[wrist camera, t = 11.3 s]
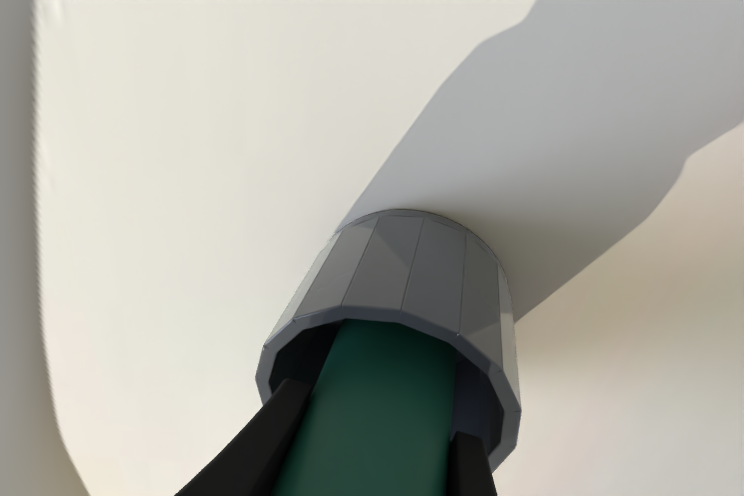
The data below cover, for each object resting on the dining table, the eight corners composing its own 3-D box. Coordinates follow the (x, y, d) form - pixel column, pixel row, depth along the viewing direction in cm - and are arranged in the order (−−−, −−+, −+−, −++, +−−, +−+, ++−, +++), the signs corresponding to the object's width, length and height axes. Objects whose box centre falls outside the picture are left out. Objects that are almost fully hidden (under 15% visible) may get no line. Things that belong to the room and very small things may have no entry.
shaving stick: (482, 356, 13) (482, 779, 6) (399, 405, 14) (326, 769, 8) (391, 277, 12) (271, 659, 5) (316, 339, 14) (155, 680, 7)
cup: (553, 306, 14) (582, 438, 10) (412, 391, 18) (390, 515, 14) (403, 166, 13) (365, 251, 9) (282, 287, 16) (213, 390, 12)
